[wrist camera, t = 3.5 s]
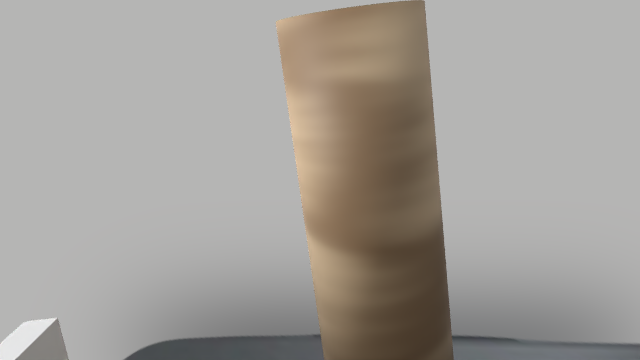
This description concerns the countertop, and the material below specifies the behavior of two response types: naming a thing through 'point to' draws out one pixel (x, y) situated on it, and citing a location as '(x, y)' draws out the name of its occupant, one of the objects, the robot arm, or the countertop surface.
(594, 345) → the countertop surface
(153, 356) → the countertop surface
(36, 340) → the robot arm
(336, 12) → the peg
